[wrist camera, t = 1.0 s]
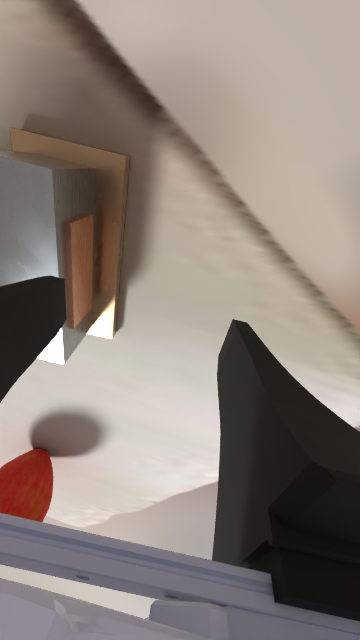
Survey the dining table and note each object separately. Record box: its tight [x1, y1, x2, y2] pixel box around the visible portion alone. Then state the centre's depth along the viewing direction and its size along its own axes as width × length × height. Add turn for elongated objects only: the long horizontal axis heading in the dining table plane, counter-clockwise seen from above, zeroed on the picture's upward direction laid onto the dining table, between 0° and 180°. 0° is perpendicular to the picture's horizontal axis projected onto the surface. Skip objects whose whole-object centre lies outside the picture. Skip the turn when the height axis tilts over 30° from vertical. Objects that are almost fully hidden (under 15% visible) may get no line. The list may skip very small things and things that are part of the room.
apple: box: [0, 449, 53, 522], centre depth 31 cm, size 9×8×11 cm
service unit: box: [0, 127, 130, 364], centre depth 17 cm, size 7×14×6 cm, turn 169°
